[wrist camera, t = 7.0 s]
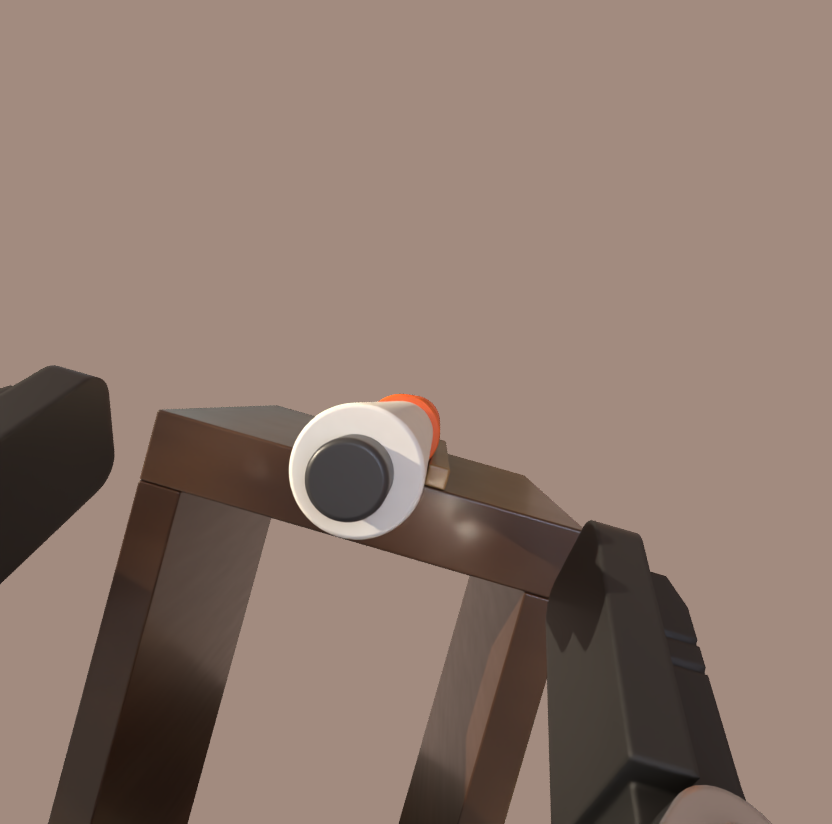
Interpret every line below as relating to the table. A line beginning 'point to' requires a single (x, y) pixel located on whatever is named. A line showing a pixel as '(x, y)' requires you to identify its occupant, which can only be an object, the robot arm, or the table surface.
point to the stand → (227, 601)
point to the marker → (364, 464)
